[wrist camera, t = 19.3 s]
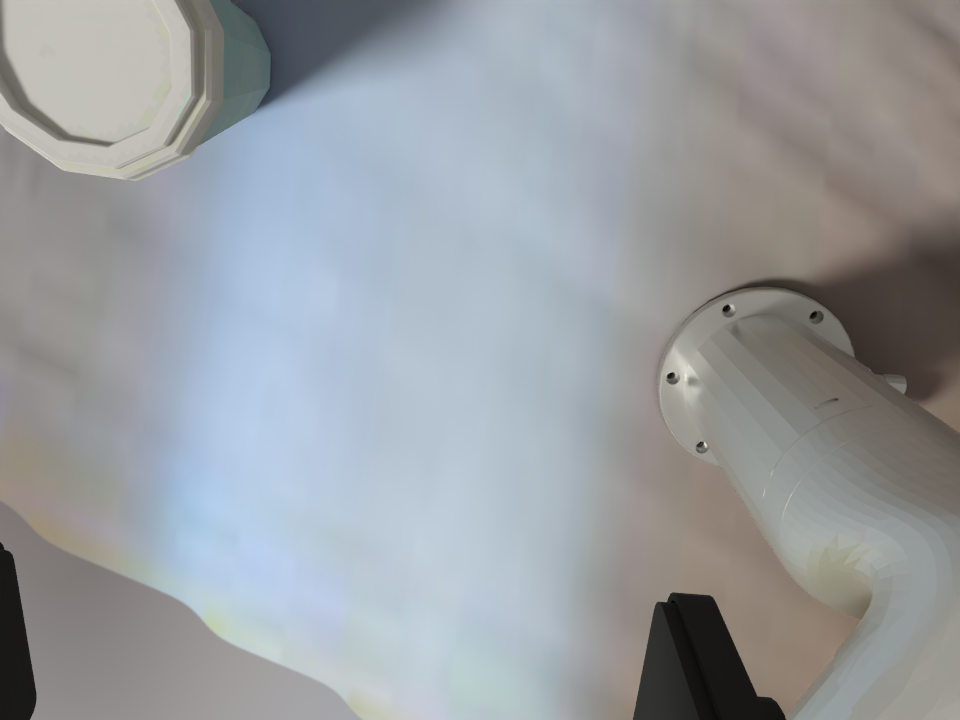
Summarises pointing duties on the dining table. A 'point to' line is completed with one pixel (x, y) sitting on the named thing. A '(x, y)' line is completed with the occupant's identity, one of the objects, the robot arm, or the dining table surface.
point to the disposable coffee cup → (127, 79)
